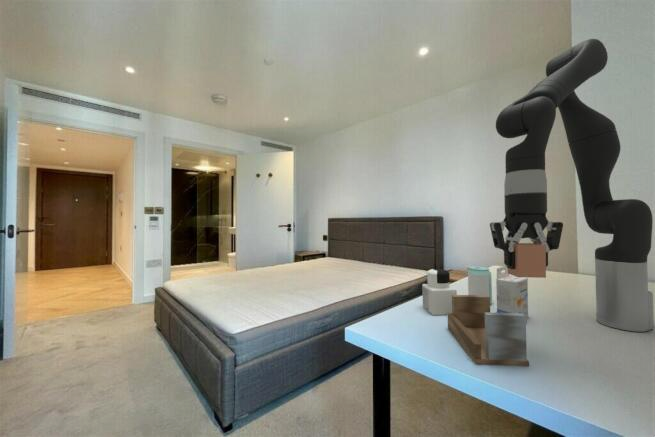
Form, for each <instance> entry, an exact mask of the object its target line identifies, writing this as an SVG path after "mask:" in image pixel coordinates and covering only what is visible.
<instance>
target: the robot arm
mask: <svg viewBox="0 0 655 437" xmlns="http://www.w3.org/2000/svg"><path fill="white" fill-rule="evenodd" d="M608 58H609V57H608V51H607V48H606V47H605V45H604V44H603V42H602V41H601V40H600V39H597V38H589V39H586V40H583V41H581V42H579V43H577V44H576V45H574V46H572V47H570V48H568V49H566V50H565V51H564V52H562V53H560V54H558V55H556V56H555V57H553V58H551V59H550V60H549V61H548V62H547V63H546V66H545V75H546V77H545V78H544V79H542V80H541V81H540V82H538V83H537V84H536V85H535V86H533V88H531V89H530V91H529V92H528V93H526V94H525V95H523V96H522V97H520V98H519V99H517V100H515V101H513V102H512V103H510V104H508V105H507V106H506V107H504V108H503V109H502V110H501V111H500V113H499V114H498V115H497V118H496V121H495V129H496V132H497V134H498V135H499V136H500V137H502V138H506V139H515V138H519V137H523V136H525V138H524V139H523V141H521V142H520V143H518V144H516V145H514V146H512V147H510V148H508V149H507V150H506V152H505V178H504V185H503V186H504V191H503V192H504V197H503V198H504V215H505V217H504V218H503V220H502V221H499V222H498V221H497V222H494V221H493V222H490V223H489V228H490V232H491V233H490V234H491V237H492V241H493V245H494V248H496V249H500V250H502V251H503V264H504V266H507V268H510V269H515V252H513V251H514V250H515V244H517V243H521V239H529V240H530V241H531V242H532V243H534V244H540V245H546V268H547V267H548V266H549V252H550V251H553V250H558V249H559V247H560V242H561V237H562V233H563V228H564V223H563V222H561V221H551V220H548V218H547V215H546V214H547V212H548V182H547V179H548V178H547V174H546V149H547V146H548V142H549V139H550V136H551V133H552V130H553V127H554V124H555V120H556V118H557V109H558V110H559V113H560V116H561V120H562V122H563V127H564V131H565V135H566V139H567V144H568V147H569V150H570V155H571V157H572V160H573V162H574V163H573V164H574V167H575V170H576V174H577V178H578V183H579V186H580V187H579V188H580V194H581V202H582V207H583V208H582V209H583V210H582V211H583V214H584V216H583V217H584V219H585V222H586V224H587V226H588V227H589V229H590V230H591V231H593V232H595V233H598V234H605V235H606V234H607V235H613V236H612V241H611V242H610V243H609V244H607V245H604V246H600V247H596V249H595V250H594V264H595V265H594V267H595V277H594V278H595V305H596V307H595V310H596V316H595V317H596V321H597V322H598V323H599V324H602V325H604V326H608V327H610V328H615V329H618V330H623V331H628V332H640V333H642V332H643V333H644V332H649V331H651V330H652V329H654V330H655V328H654V325H655V323H654V320H655V319H654V294H653V291H650V290H649V277H648V276H649V275H648V274H649V273H648V272H649V271H648V255H649V254H650V251H651V248H652V237H653V213H652V210H651V208H650V206H649V205H648V203H646V202H645V201H644V200H641V199H638V198H637V199H635V198H629V199H628V198H626V199H614V198H613V196H612V193H611V186H610V178H611V175H612V173H613V170H614V168H615V166H616V164H617V161H618V159H619V156H620V153H621V143H620V142H621V141H620V138H619V134H618V130H617V128H616V124H615V123H614V122H613V121H612V120H611V119H610V118H609V117H607V116H606V115H604V114H603V113H600V112H599V111H597V110H596V109H593V108H591V107H590V106H588V105H587V104H586V103H584V102H583V101H582V100H580V98H579V97H578V95H577V94H576V91H575V90H576V89H577V88H579V87H580V86H581V85H582V84H584V83H585V82H586V81H588V80H589V79H590V78H592V77H594V76H595V75H598V74H599V73H600V72H602V71H603V70H604V69H605V68H606V65H607V63H608V61H609V60H608ZM505 228H506V230H507V231H508V232H507V234H506V235H505V238H504V233H503V231H504V230H505ZM545 229H546V230H547V232H546V236H545V233H544V230H545Z"/></svg>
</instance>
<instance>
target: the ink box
mask: <svg viewBox="0 0 655 437" xmlns="http://www.w3.org/2000/svg"><path fill="white" fill-rule="evenodd" d="M502 271H504V272H502ZM528 278H529V277H516V276H513V275H511V274H508V273H507V266H506V265H503V266H500V267H497V268H496V281H495V282H496V313H522V314H524V315H525V316H526V319H527V318H529V299H528V298H529V296H528V294H529V293H528V292H529V291H528V288H529V287H528V286H529V284H528V283H529V282H528Z"/></svg>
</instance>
